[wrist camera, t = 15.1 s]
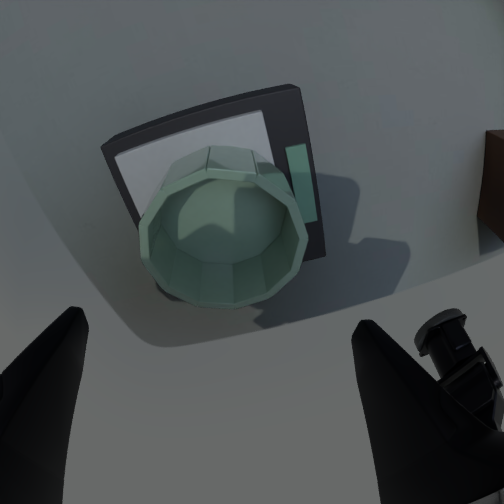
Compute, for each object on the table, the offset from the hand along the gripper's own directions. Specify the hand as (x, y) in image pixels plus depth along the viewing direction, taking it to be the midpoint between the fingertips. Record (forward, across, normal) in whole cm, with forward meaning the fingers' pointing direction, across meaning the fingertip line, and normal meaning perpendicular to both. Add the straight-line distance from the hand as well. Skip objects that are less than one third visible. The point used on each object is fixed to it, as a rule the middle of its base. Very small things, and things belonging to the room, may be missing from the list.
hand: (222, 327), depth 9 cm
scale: (+10, 0, 0) cm, 10 cm away
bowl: (+8, 0, 0) cm, 8 cm away
